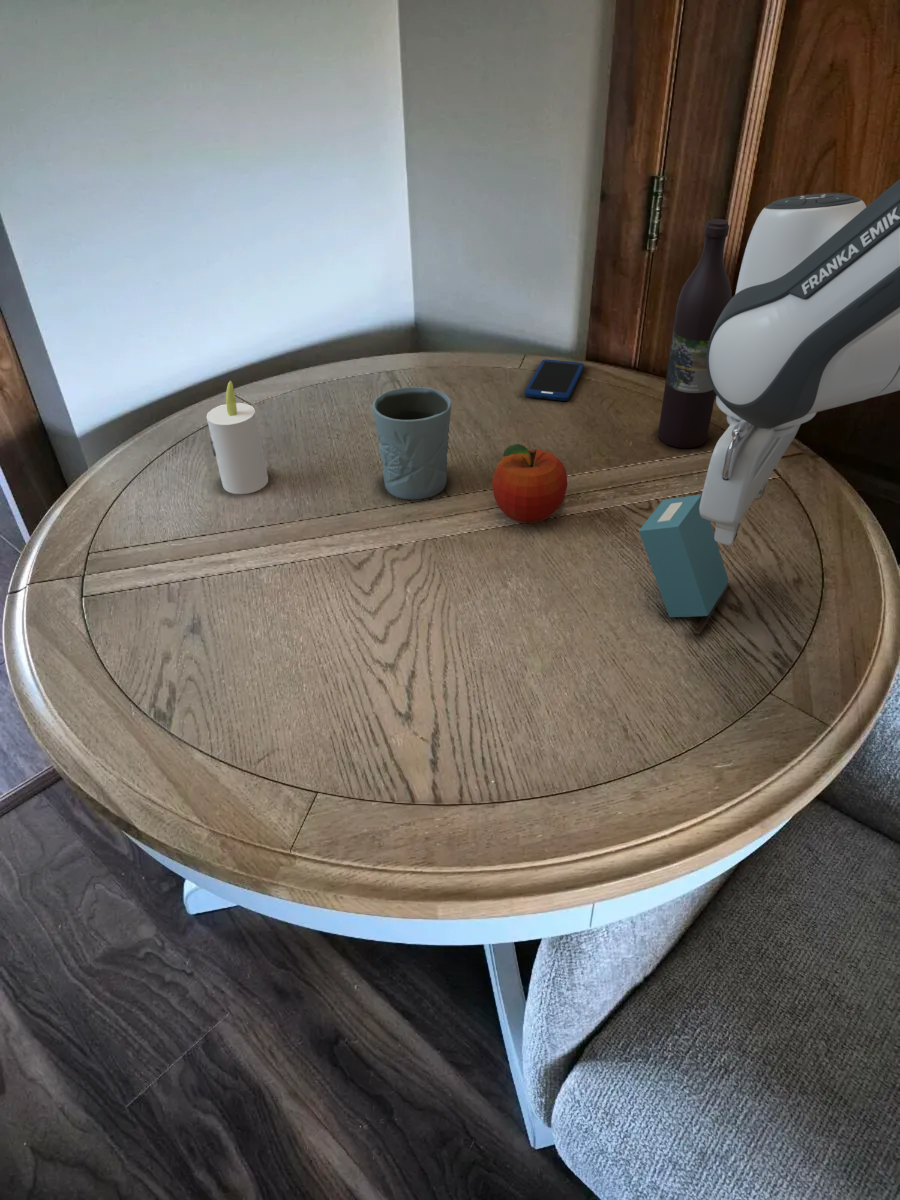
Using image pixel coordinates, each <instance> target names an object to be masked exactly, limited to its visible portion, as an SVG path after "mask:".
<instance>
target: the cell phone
mask: <svg viewBox="0 0 900 1200" xmlns="http://www.w3.org/2000/svg"><path fill="white" fill-rule="evenodd" d="M584 368H585V364H584V363H583V362H578V361H577V362H576V361H566V360H559V359H558V360H557V359H543V360H541V362H540V364H539V365H538V367H537V369H536V370H535V373H534V375H532V377H531V379H530V381H529V383H528V384H527V387H526V388H525V391H524V396H525V397H527V398H534V399H542V400H543V399H544V400H553V401H562V402H568V401H569V400H570V398H571V396H572V394H573V392H574V390H575V388H576V386H577V383H578V382H579V379H580V377H581V375H582V373H583V371H584Z"/></svg>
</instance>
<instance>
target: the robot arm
mask: <svg viewBox="0 0 900 1200" xmlns="http://www.w3.org/2000/svg"><path fill="white" fill-rule="evenodd" d="M735 288H736V289H735V294H734V295H733V296H732V298H731V300H730V301H729V302H728V304H727V305H726V307H725V308H724V310H723V311H722V313H721V315H720V316H719V318H718V320H717V322H716V324H715V327H714V329H713V331H712V334H711V337H710V340H709V344H708V348H707V356H706V366H707V373H708V377H709V381H710V383H711V386H712V388H713V390H714V391H715V393H716V394H715V403H716V406H717V407H718V409H719V410H720V411H721V412H722V413H724V414H725V415H726V422H727V423H728V425H729V426H728V427H727V428H726V429H725V431H724V432H723V434H721V436H720V437H719V439H718V440H717V442H716V444H715V446H714V448H713V450H712V451H713V452H712V454H711V457H710V460H709V463H708V466H707V467H708V468H707V472H706V475H705V480H704V484H703V489H702V492H701V494H702V497H701V501H700V506H699V511H700V515H701V517H702V518H703V519H706V520H708V521H710V522H711V523H715V531H714V535H715V536H714V539H715V541H716V542H717V544H722V545H724V546H731V545H732V544H733V543H734V541H735V540H736V538H737V537H738V531H739V528H740V523H741V521H742V520H743V518H744V516H745V515H746V513H747V512H748V510H749V509H750V507H751V506H752V504H753V503H754V501H755V500H761V499H762V497H763V496H764V494H765V493H766V491H767V487H768V482H769V479H770V478H771V475H772V473H773V471H774V470H775V469H776V467H777V465H778V464H779V462H780V460H781V459H782V458H783V456H784V455H785V453H786V451H787V450H788V448H789V447H790V445H791V444H792V442H793V441H794V439H795V437H796V435H797V434H798V431H799V429H800V427H801V426H802V424H805V423H807V422H809V421H811V420H812V419H813V418H814V417H815V416H816V415H817V413H819V412H824V411H827V410H831V409H834V408H838V407H843V406H846V405H850V404H855V403H859V402H862V401H866V400H869V399H872V398H876V397H879V396H884V395H888V394H891V393H895V392H899V391H900V178H899V179H898V180H897V181H895V182H894V183H893V184H892V185H891V186H890V187H888V188H887V189H886V190H885V191H883V192H882V193H881V194H880V195H878V197H876V198H875V199H874V200H873V201H872V202H870V204H868V205H867V204H866V203H865V202H864V200H862V199H861V198H860V197H857V196H855V195H853V194H851V193H845V192H819V193H815V194H814V193H813V194H808V193H807V194H800V195H794V196H788V197H782V198H779V199H777V200H774V201H772V202H771V203H769V204H768V205H766V206H764V207H763V209H761V211H760V212H759V214H758V216H757V218H756V219H755V222H754V224H753V225H752V229H751V231H750V233H749V236H748V239H747V243H746V247H745V249H744V253H743V257H742V260H741V265H740V270H739V274H738V279H737V283H736V287H735Z"/></svg>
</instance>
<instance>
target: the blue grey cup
mask: <svg viewBox="0 0 900 1200" xmlns="http://www.w3.org/2000/svg"><path fill="white" fill-rule="evenodd" d="M371 407H372V413H373V419H374V423H375V430H376V435H377V439H378V441H379V442H378V443H379V446H378V450H379V453H380V454H379V457H380V459H381V460H380V462H381V463H382V474H383V475H382V476H383V482H384V487H385V489H386V491H387V492H388V493H389V494H390V495H392V496H394V497H396V498H398V499H402V500H410V501H411V500H412V501H418V500H425V499H428V498H432V497H434V496H437V495H439V493H441V492H442V491H443V490H444V489H445V487H446V485H447V478H448V477H447V476H448V475H447V470H448V452H449V449H448V448H449V438H450V436H449V433H450V423H451V414H452V413H451V411H452V401H451V399H450V397H449V396H448V395H447V394H446V393H444V392H443V391H440V390H438V389H435V388H429V387H423V386H408V387H401V388H396V389H392V390H388V391H385V392H383V393H381V394H380V395H378V396H377V397H376V398H375V399H374V400H373V402H372V405H371Z"/></svg>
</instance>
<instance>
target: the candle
mask: <svg viewBox="0 0 900 1200" xmlns="http://www.w3.org/2000/svg"><path fill="white" fill-rule="evenodd" d="M225 391H226V392H225V403H224V404H221V405H218V406H215V407H213V408H212V409H210V410H209V411H208V412H207V414H206V421H207V425H208V426H207V427H208V429H209V434H210V436H209V441H210V445H211V449H212V454H213V457H215V460H216V464H217V468H218V470H219V476H220V480H221V484H222V487H223V489H224V490H225V491H226V492H227V493H230V494H233V495H248V494H252V493H255V492H257V491H260V490H262V489H263V488H264V487H266V486H267V485H268V483H269V475H268V471H267V465H266V460H265V455H264V451H263V445H262V440H261V435H260V429H259V423H258V419H257V414H256V409H255V408H254V407H253V406H252V404H251V405H250V404H248V403H244V402H237V399H236V394H235V389H234V384H233V382H232V380H229V381H228V383H227V386H226V390H225Z"/></svg>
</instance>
